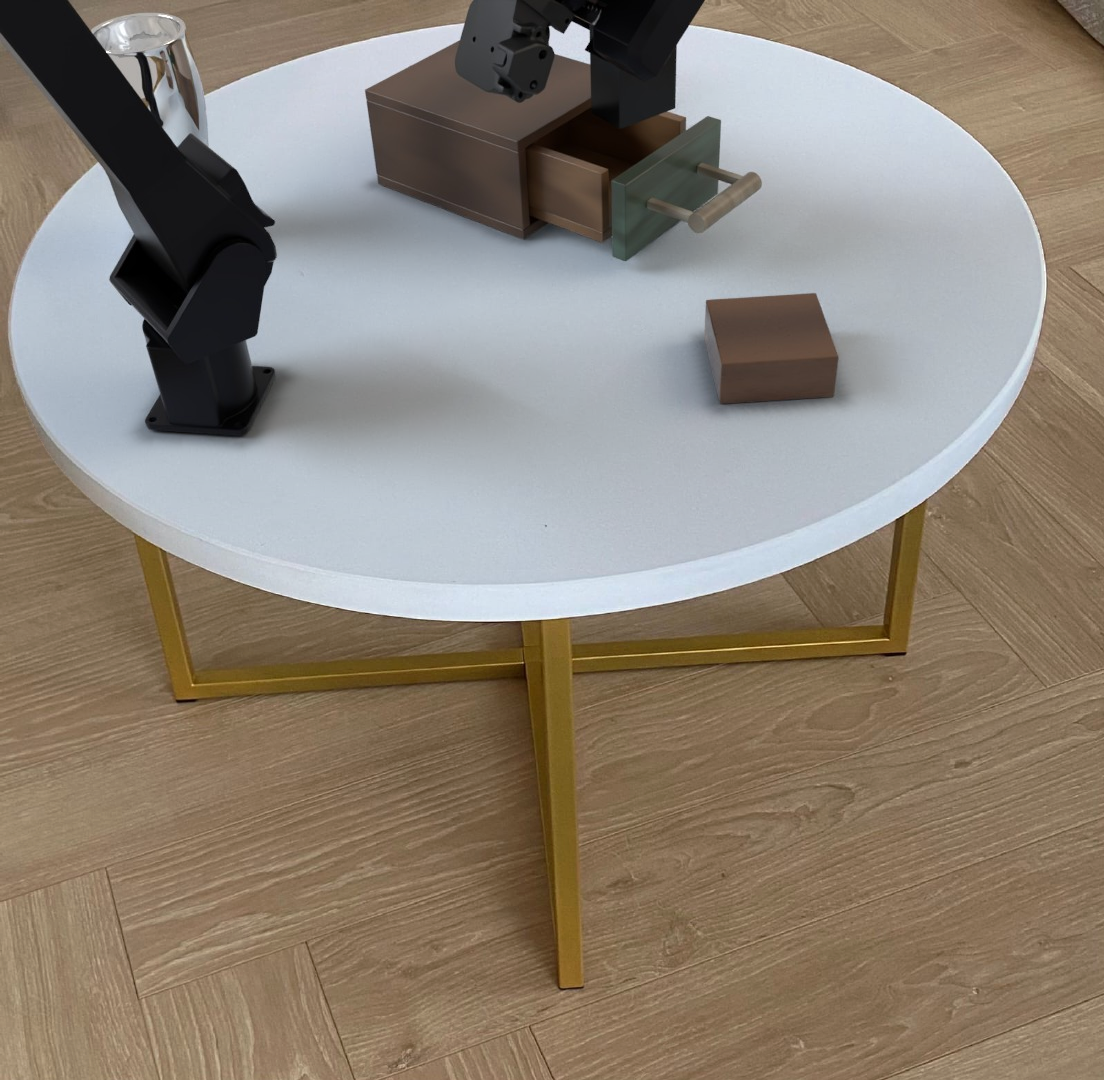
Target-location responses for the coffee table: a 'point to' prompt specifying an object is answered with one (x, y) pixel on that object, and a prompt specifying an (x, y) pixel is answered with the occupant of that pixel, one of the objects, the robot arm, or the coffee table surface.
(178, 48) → the silver metal cup
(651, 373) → the coffee table surface
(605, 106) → the black toaster with toast
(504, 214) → the cabinet
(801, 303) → the stand
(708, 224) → the drawer
